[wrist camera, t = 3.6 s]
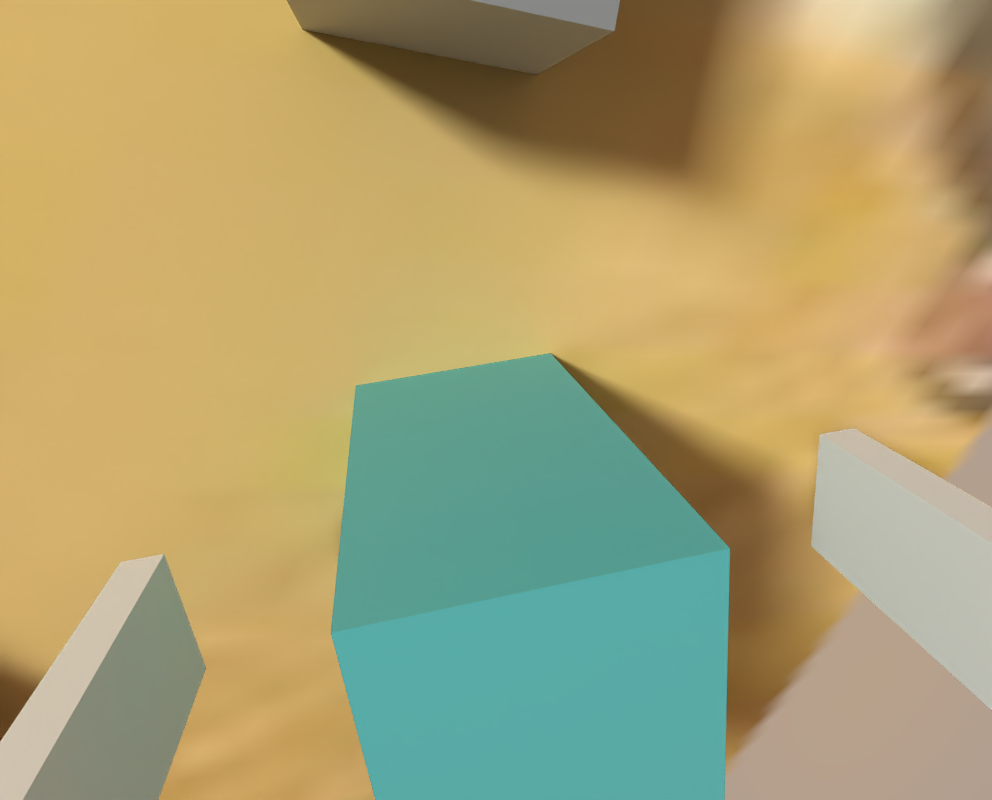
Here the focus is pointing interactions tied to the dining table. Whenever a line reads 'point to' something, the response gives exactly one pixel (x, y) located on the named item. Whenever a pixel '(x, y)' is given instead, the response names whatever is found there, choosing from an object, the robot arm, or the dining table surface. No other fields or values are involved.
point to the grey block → (468, 27)
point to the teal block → (525, 598)
